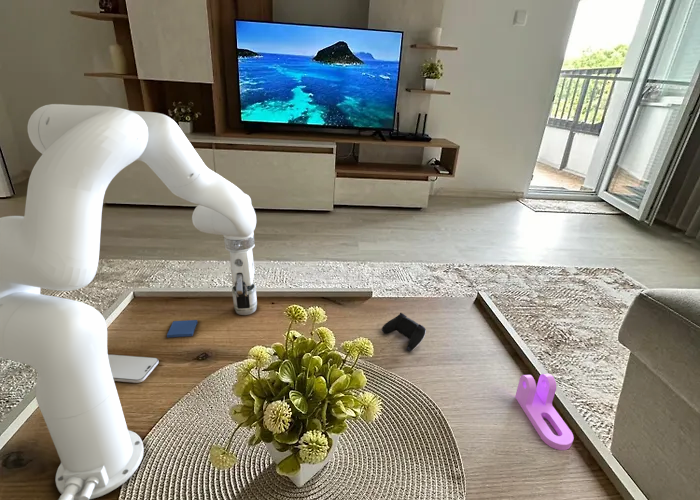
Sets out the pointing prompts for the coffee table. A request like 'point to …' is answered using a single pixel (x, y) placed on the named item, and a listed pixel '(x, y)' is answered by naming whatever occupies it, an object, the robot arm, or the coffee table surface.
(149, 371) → the smartphone
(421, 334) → the gaming controller
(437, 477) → the coffee table surface
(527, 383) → the bracket
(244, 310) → the camera lens
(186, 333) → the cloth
